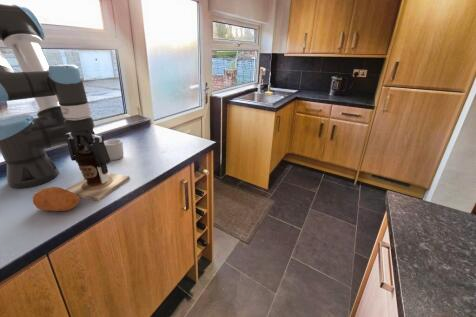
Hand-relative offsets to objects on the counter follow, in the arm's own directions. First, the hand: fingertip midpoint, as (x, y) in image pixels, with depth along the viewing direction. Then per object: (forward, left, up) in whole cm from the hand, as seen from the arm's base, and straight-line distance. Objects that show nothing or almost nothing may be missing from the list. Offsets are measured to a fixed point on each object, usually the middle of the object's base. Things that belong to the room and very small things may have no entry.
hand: (96, 179), depth 84 cm
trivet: (0, 0, -3) cm, 3 cm away
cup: (-13, +22, -3) cm, 26 cm away
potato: (-1, -14, -3) cm, 14 cm away
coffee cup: (0, 0, -1) cm, 1 cm away
